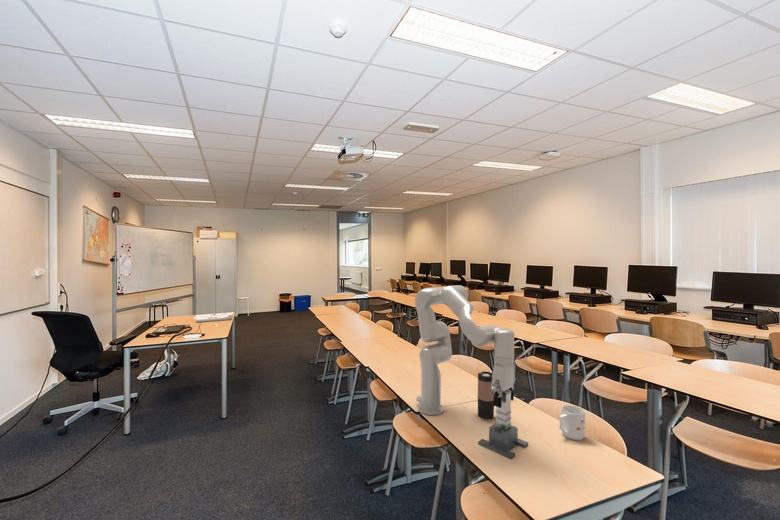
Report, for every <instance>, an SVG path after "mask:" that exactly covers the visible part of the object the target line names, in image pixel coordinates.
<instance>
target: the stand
mask: <svg viewBox="0 0 780 520" xmlns="http://www.w3.org/2000/svg"><path fill="white" fill-rule="evenodd" d="M518 432H519V431H518V427H517V426H514V425H512V424H511V429H509V430H508V431H506V432H505V431H503V430H501V429H499V428H496V422H495V423H494V424H492V425H490V426H488V440H487V439H484V438H481V439H479V441H478V445H479V446H481V447H484V448H485V449H487V450H490V451H492V452H494V453H497V454H498V455H501V456H503V457H505V458H507V459H509V460H513V459H514V458H515V457H516V452H513V451H512V450H514V449H515V448H516V447H517V446H518V447H521V448H523V449H526V448H527V447H528V446H529V442H528V441H526V440H523V439H521V438H519V436H518Z"/></svg>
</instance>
